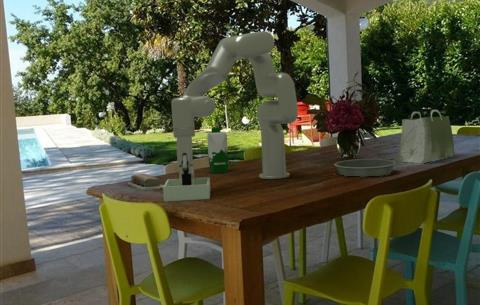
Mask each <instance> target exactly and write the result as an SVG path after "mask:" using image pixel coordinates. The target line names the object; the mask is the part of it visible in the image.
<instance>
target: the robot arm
mask: <svg viewBox="0 0 480 305" xmlns="http://www.w3.org/2000/svg"><path fill="white" fill-rule="evenodd" d="M274 46H275V40H274V36H273V35H272V33H270V32H268V31H265V30H263V31H262V30H261V31H256V32H248V33H243V34H240V35H234V36H229V37H228V36H227V37H225V38H222V39H221V40H220V41H219V42H218V44H217V46H216V48H215V49H214V52H213V53H212V56H211V58H210V59H209V62H208V63H207V65H206V67H205V69H203V71H201V72H200V73H199V74H198V75H197V76H196V77H195V78H194V79H193V80H192V81H191V82H190V83H189V85H187V88H186V89H185V91H184V93H183V95H182V97H174V98H172V100H171V101H170V102H171V115H172V132H173V138H175V139H176V159H177V166H178V167H179V166H180V165H182V185H183V186H185V185H191V184H192V182H191V174H190V165H191V164H193V155H194V154H193V150H194V149H193V138H194V137H195V136H196V133H195V132H196V130H195V127H196V126H195V117H196V118H201V117H202V118H205V117H206V118H207V117H208V116H211V115H212V114H213V113H214V111H215V110H216V103H215V101H214V99H213V98H211V97H210V96H207V95H205V94H207V93H208V91H210V90H212V89H214V88H215V87H218V86H219V85H222V83H224V82H225V81H226V80H227V79H228V76H229V75H230V73H231V70H232V69H233V67H234V64H235V62H236V61H237V60H243V59H247V60H248V61H249V62H250V64H251V66H252V71H253V76H254V81H255V87H256V92H257V94H258V95H259V96H260V97H262V98H277V99H270V100H269V99H268V100H265V101H263V102H261V103H260V104H259V105H258V107H257V118H258V121H259V127H260V138H261V140H260V141H261V161H262V162H261V164H262V172H261V173H259V174H258V177H259V178H260V179H264V180H277V179H278V180H280V179H285V178H289V177H290V176H291V175H290V173H289V172H288V171H287V172H286V170H287V169H286V146H285V143H286V142H285V131H284V129H283V127H282V125H285V124H286V125H287V124H288V125H289V124H293V123H295V122H296V120H297V118H298V115H299V108H298V102H297V94H296V87H295V83H294V80H293V78H292V77H291V75H289V74H288V73H286V72H276V69H275V64H274V61H273V57H272V55H271V54H270V53H271V52H272V51H273V48H274Z"/></svg>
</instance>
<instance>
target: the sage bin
mask: <svg viewBox="0 0 480 305" xmlns="http://www.w3.org/2000/svg"><path fill="white" fill-rule="evenodd" d="M163 185H164V186H163V188H162V192H163V202H179V201H198V200H199V201H200V200H210V199H211V198H210V197H211V178H210V176H208V177H195V185H185V186H180V179H179V178H172V179H170V178H169V179H167V180H166V181H165V182H164V184H163Z"/></svg>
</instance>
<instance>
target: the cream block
mask: <svg viewBox="0 0 480 305" xmlns="http://www.w3.org/2000/svg"><path fill="white" fill-rule="evenodd" d="M190 174H191V182H192V184H191V185H195V178H196V177H195V165H194V164H193V163H192V164H191V165H190ZM178 175H179V176H178V177H179V178H178V179H180V186H183V185H182V164H181V165H180V166H178Z"/></svg>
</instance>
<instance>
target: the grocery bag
mask: <svg viewBox="0 0 480 305" xmlns="http://www.w3.org/2000/svg"><path fill="white" fill-rule="evenodd" d="M434 112H436V113H437V114H438V115H439V116H433V113H434ZM415 114H418V116H419V118H413V117H414V115H415ZM410 116H411V117H410V118H406V119H405V118H404V119H401V134H400V141H399V147H398V154H397V157H396V162H414V163H426V162H428V161H432V160H436V159H441V158H446V159H448V158H447V157H450V156H452V157H454V156H455V144H454V142H455V141H454V136H453V130H452V125H451V121H450V117H449V115H448V116H442V114H441V112H440V111H439V110H438V109H432V110H431V111H430V116H427V117H424V116H423V117H422V114H421V112H420V111H413V112H412V113H411V115H410ZM453 155H454V156H453ZM450 158H451V157H450ZM426 164H427V163H426Z"/></svg>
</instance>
